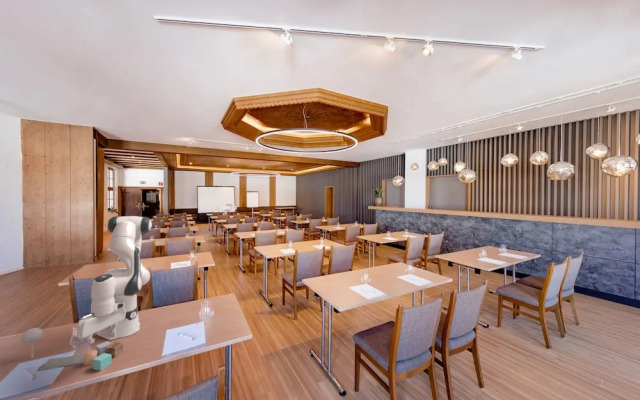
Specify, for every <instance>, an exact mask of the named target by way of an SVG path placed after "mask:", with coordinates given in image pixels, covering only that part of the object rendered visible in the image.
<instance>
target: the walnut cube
mask: <svg viewBox="0 0 640 400" xmlns="http://www.w3.org/2000/svg"><path fill="white" fill-rule="evenodd" d="M123 352H124V342H117V341H115V342H113V343H111V345H109V346H108V347H106V354H112V358H117V357H118V356H119V355H120V354H122V353H123Z"/></svg>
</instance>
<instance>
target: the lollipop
mask: <svg viewBox="0 0 640 400" xmlns="http://www.w3.org/2000/svg"><path fill="white" fill-rule="evenodd" d="M43 334H44V333H43V329H41V328H39V327H33V328H29V329H28V330H26V331H25V332H23V334H22V336H21V341H22V343H24V344H27V345H28V344H31V351H30V354H31V356H30V357H31V359H33V358H34V343H36V342H38V341H39V340H40V339H41V338H42V336H43Z"/></svg>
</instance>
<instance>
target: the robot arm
mask: <svg viewBox="0 0 640 400" xmlns="http://www.w3.org/2000/svg"><path fill="white" fill-rule="evenodd" d="M152 227H153V224H152V220H151V218H150V217H147V216H136V215H130V216H129V215H126V216H120V215H118V216H112V217H110V218H109V219H108V221H107V227H106V228H107V231H108V232H109V233H111V236H110V240H109V244H108V245H109V246H108V247H109V250H110V251H111V253H113V254H114V255H117V258H118V261H120V262H121V263H123V264H125V266H126V268H115V269H109V270H106V271H104V272H103V273H102V274H100V275H98V276H96V277H94V279H93V281H92V286H91V292H90V293H91V294H90V295H91V300H92V301H91V304H90V313H89V314H87V315H84V316H82V317H81V318H79V320H78V321H77V329H76V334H75V335H76V337H77V338H78V339H85V338H86V339H87V340H88V344H90V345H91V344H93V343H95V342H96V338H94V337H93V335H94V334H96V336H99V337H101V338H104V339H106V340H108V341H113V340H115V339H121V338H122V339H123V338H126V337H129V336H132V335H133V334H136V333H137V332H139V331H140V330H141V327H140V326H141V322H140V319H139V313H138V311H139V309H138V305H137V304H138V303H137V302H138V299H137V298H138V296H137V294H138V293H139V292H140V291H141V289H142V287H143V286H144V285H146V284H147V283H148V282H149V281H150V279H151V272H150V271H149V269H147V268H146V267H144V265H143V263H142V260H141V251H142V245H143V244H142V241H143V240H142V239H143V236H145V235H147V234H148V233H150V231H151V229H152Z"/></svg>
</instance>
